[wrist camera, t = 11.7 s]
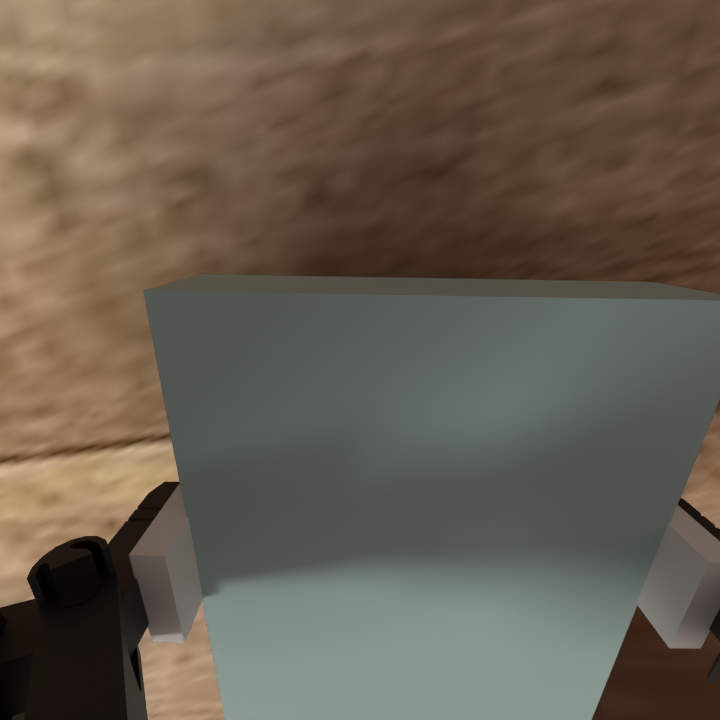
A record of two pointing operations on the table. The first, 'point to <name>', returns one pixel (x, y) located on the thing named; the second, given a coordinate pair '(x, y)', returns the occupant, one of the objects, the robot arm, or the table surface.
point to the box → (659, 679)
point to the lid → (428, 482)
